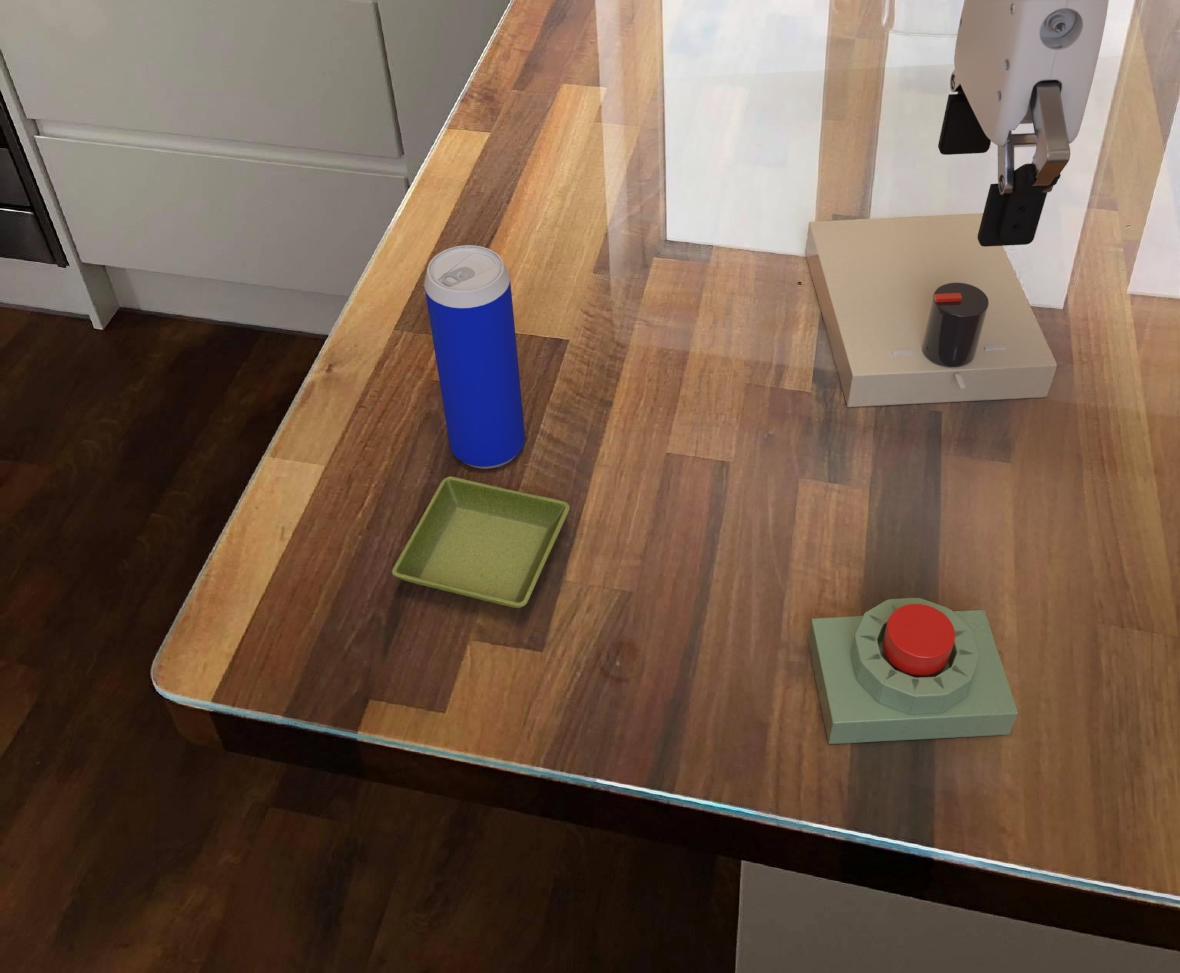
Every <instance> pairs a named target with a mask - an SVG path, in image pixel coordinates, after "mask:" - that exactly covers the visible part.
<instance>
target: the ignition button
mask: <svg viewBox="0 0 1180 973" xmlns="http://www.w3.org/2000/svg"><path fill="white" fill-rule="evenodd" d="M954 641H955V630H954V627H953V625H952V623H951V621H950V620H949V618H948V617H947V616H946V615H945V614H943V613H942V612H941V611H939V610H937V609H935V608H933V607H931V606H928V605H923V604H909V605H905V606H902V607H900V608H898V609H897V610H895V611H894V612H893V613H892V614H891V615H890V617H889V619H888V622H887V626H886V630H885V634H884V638H883V651H884V654H885V656H886V657H887V659H888V660H889V662H890V663H891V664H892V665H893V666H894V667H896V668H897V669H899V670H900V671H902V672H905V673H907V674H910V675H916V676H927V675H931V674H934V673H936V672H938V671H940V670H941V669H943V668H944V667H945V665H946V664H947V662H948V660H949V657H950V654H951V651H952V648H953V645H954Z"/></svg>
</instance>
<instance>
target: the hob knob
mask: <svg viewBox="0 0 1180 973" xmlns="http://www.w3.org/2000/svg"><path fill="white" fill-rule="evenodd" d="M988 305H989V301H988V298H987V296H986V294H985V293H984V292H983V291H982V290H980V289H979V288H977V287H975V286H973V285H970V284H966V283H948V284H944V285H942V286H940V287H939V288H937V290H936V291H935V292H934V294H933V299H932V303H931V308H930V312H929V317H928V321H927V326H926V330H925V335H924V339H923V344H922V350H923V353H924V355H925V356H926V357H927V358H928V359H929V360H930V361H932V362H933V363H935V364H938V365H940V366H944V367H961V366H964V365H967V364H968V363H970V362H971V361H972V360H973V359H974V357H975V354H976V350H977V347H978V343H979V339H980V335H981V332H982V328H983V324H984V320H985V316H986V313H987V309H988Z"/></svg>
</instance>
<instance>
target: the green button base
mask: <svg viewBox="0 0 1180 973" xmlns="http://www.w3.org/2000/svg"><path fill="white" fill-rule="evenodd" d="M909 604H923V605H928V606H931V607H933V608H935V609H937V610H939V611H941V612H942V613H943V614H945V615H946V616H947V617H948V618H949V620H950V621H951V623H952V625H953V627H954V630H955V641H954V645H953V648H952V651H951V654H950V657H949V660H948V662H947V664H946V665H945V667H944V668H943V669H941V670H940V671H938V672H936V673H934V674H931V675H927V676H916V675H910V674H907V673H905V672H902V671H900V670H899V669H897V668H896V667H894V666H893V665H892V664H891V663H890V662H889V660H888V659H887V657H886V656H885V654H884V651H883V638H884V634H885V630H886V626H887V622H888V619H889V617H890V615H891V614H892V613H893V612H894V611H895V610H897V609H898V608H900V607H902V606H905V605H909ZM807 644H808V650H809V654H810V660H811V664H812V665H811V666H812V668H813V674H814V678H815V679H814V680H815V684H816V689H817V690H816V691H817V694H818V699H819V704H820V709H821V715H822V719H823V723H824V724H823V725H824V729H825V733H826V738H827V743H828V744H829V745H838V744H855V743H856V744H858V743H859V744H861V743H875V742H896V741H911V740H912V741H914V740H931V739H934V740H935V739H952V738H971V737H990V736H1008V735H1010V734H1011V732H1012V730H1013V728H1014V725H1015V722H1016V721H1017V717H1018V715H1019V711H1018V708H1017V705H1016V702H1015V698H1014V695H1013V692H1012V689H1011V687H1010V684H1009V680H1008V678H1007V675H1006V672H1005V669H1004V664H1003V663H1002V662H1003V661H1002V659H1001V655H1000V653H999V650H998V648H997V644H996V641H995V638H994V635H993V631H992V629H991V626H990V622H989V619H988V616H987V614H986V610H985V609H971V610H967V609H966V610H952V609H951V608H949V607H947V606H944V605H941V604H938V603H935V602H933V601H930V600H927V599H925V598H922V597H905V598H902V597H901V598H887V599H886V600H884V601H882V602H880V603H879V604H878V605H875V606H874V607H872V608H871V609H869V610H867V611H865V612H864V613H863V615H853V616H852V615H851V616H837V617H834V616H833V617H817V618H816V617H815V618H811V620H810V625H809V631H808V636H807Z"/></svg>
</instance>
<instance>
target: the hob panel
mask: <svg viewBox="0 0 1180 973" xmlns="http://www.w3.org/2000/svg"><path fill="white" fill-rule="evenodd" d="M982 216H983V212H978V213H977V212H976V213H975V212H974V213H956V214H937V215H936V214H935V215H918V216H915V215H914V216H896V217H895V216H894V217H877V218H876V217H874V218H859V219H857V218H855V219H836V220H834V219H833V220H817V221H815V220H814V221H813V220H812V221H809V222H808V229H807V237H806V242H805V243H806V244H805V251H804V252H805V256H806V260H807V263H808V268H809V271H810V275H811V279H812V282H813V286H814V290H815V294H816V297H817V301H818V305H819V308H820V311H821V316H822V319H823V324H824V326H825V330H826V333H827V338H828V341H829V344H830V348H831V353H832V355H833V359H834V363H835V367H836V370H837V374H838V377H839V381H840V385H841V388H842V393H843V396H844V400H845V403H846V407H847V408H859V407H861V408H863V407H875V406H876V407H877V406H897V405H898V406H900V405H901V406H902V405H919V404H940V403H959V402H978V401H979V402H980V401H995V400H996V401H998V400H999V401H1000V400H1016V399H1018V400H1019V399H1039V398H1047V397H1048V395H1049V392H1050V388H1051V387H1052V383H1053V380H1054V377H1055V375H1056V374H1055V373H1056V371H1057V368H1058V363H1057V361H1056V359H1055V357H1054V355H1053V353H1052V350H1051V347H1050V346H1049V344H1048V341H1047V339H1046V337H1045V334H1044V333H1043V330H1042V328H1041V326H1040V324H1039V321H1038V320H1037V318H1036V315H1035V314H1034V311H1033V309H1032V307H1031V304H1030V303H1029V300H1028V298H1027V295H1026V293H1025V292H1024V288H1023V287H1022V285H1021V283H1020V280H1019V278H1018V276H1017V274H1016V272H1015V269H1014V267H1013V265H1012V263H1011V261H1010V259H1009V257H1008V254H1007V253H1006V252H1007V251H1006V250H1005V248H1004V246H988V247H984V246H981V245H980V243H979V241H978V238H977V236H978V232H979V228H980V224H981V220H982ZM948 283H966V284H970V285H973V286H975V287H977V288H979V289H980V290H982V291H983V292H984V293H985V294H986V296H987V298H988V301H989V305H988V309H987V313H986V316H985V320H984V324H983V328H982V332H981V335H980V339H979V343H978V347H977V350H976V354H975V357H974V359H973V360H972V361H971V362H970V363H968V364H967V365H964V366H961V367H944V366H940V365H938V364H935V363H933V362H932V361H930V360H929V359H928V358H927V357H926V356H925V355H924V353H923V350H922V344H923V339H924V335H925V330H926V326H927V321H928V317H929V312H930V308H931V303H932V299H933V294H934V292H935V291H936V290H937V288H939V287H940V286H942V285H944V284H948Z"/></svg>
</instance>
